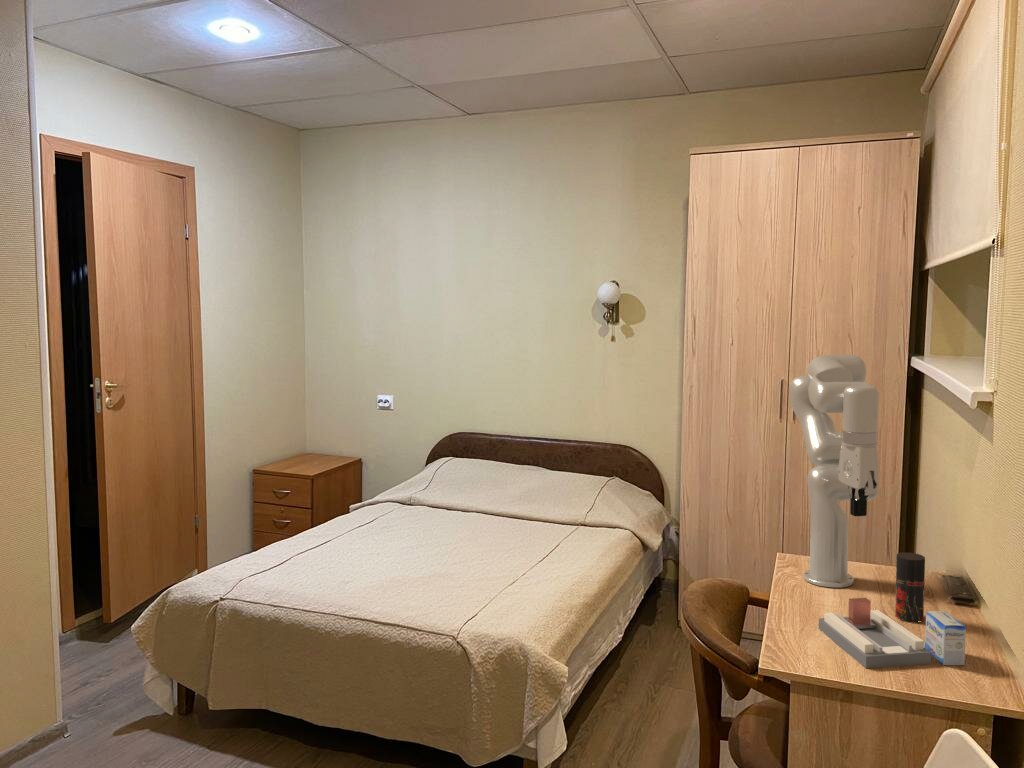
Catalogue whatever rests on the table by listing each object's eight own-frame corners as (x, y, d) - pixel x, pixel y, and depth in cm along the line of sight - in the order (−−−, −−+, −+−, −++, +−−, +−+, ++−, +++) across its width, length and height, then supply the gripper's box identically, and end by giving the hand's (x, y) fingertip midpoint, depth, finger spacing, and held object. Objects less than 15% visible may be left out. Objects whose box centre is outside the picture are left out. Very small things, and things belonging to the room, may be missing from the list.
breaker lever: (842, 620, 175) (843, 596, 175) (863, 618, 176) (864, 595, 175) (854, 629, 170) (854, 604, 170) (876, 627, 171) (876, 603, 170)
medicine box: (923, 649, 166) (925, 610, 165) (945, 649, 166) (946, 610, 165) (943, 666, 158) (944, 625, 157) (965, 666, 158) (966, 625, 157)
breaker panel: (818, 628, 178) (818, 610, 177) (876, 625, 179) (876, 607, 179) (865, 668, 158) (866, 648, 157) (930, 663, 159) (930, 643, 159)
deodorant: (926, 623, 179) (928, 560, 178) (899, 622, 180) (900, 559, 179) (918, 613, 185) (920, 552, 184) (892, 612, 186) (893, 551, 185)
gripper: (828, 434, 187) (827, 508, 188) (861, 444, 172) (860, 524, 174) (858, 432, 187) (856, 506, 189) (893, 443, 173) (891, 523, 174)
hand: (858, 515), depth 181 cm, fingers closed
